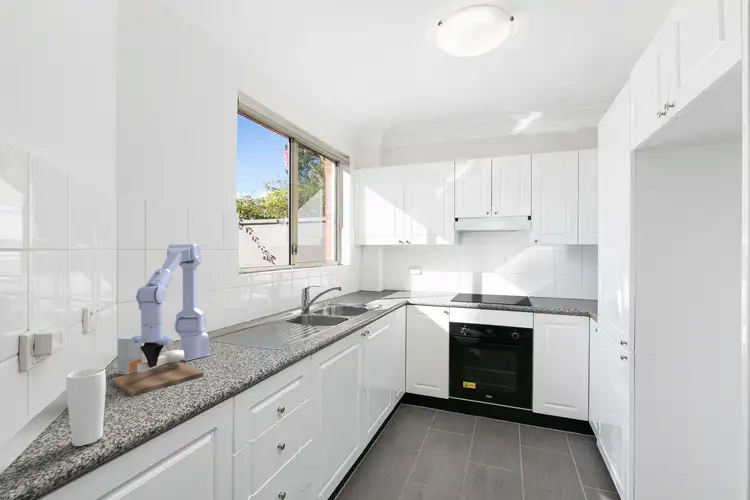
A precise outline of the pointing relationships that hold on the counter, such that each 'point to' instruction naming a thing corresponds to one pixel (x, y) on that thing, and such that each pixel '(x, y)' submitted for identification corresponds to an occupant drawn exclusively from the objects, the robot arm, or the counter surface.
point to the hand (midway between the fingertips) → (152, 366)
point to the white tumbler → (86, 404)
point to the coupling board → (156, 378)
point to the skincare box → (128, 355)
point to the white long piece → (162, 359)
